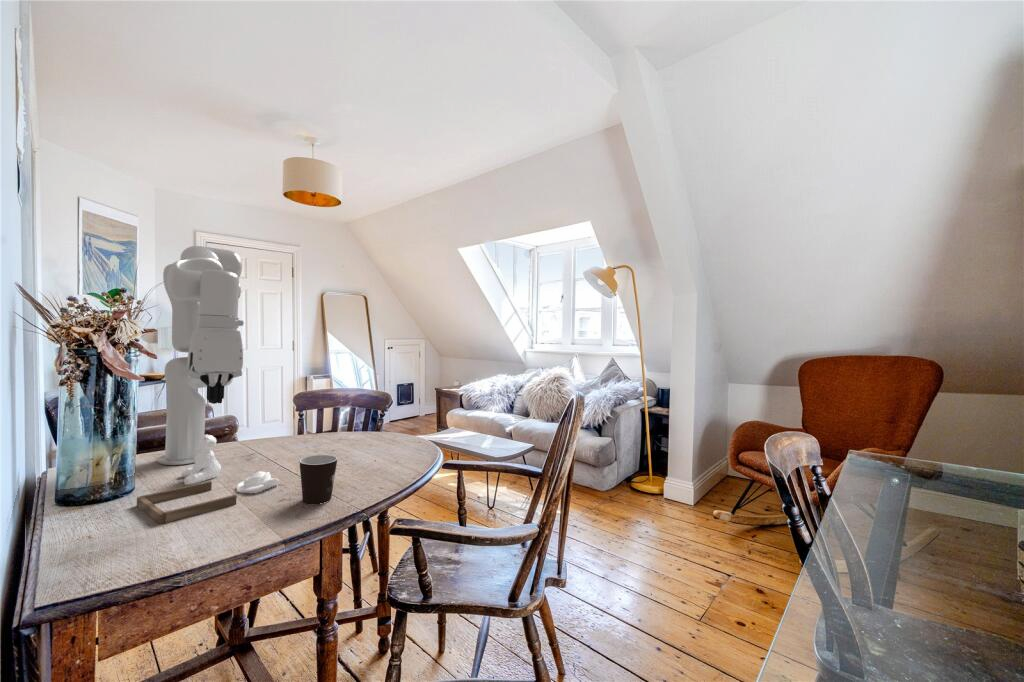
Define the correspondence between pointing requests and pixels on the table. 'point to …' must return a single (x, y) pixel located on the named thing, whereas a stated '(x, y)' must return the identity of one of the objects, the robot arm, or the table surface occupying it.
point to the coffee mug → (317, 478)
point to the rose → (257, 483)
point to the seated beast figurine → (203, 463)
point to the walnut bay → (164, 517)
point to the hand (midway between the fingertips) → (215, 402)
